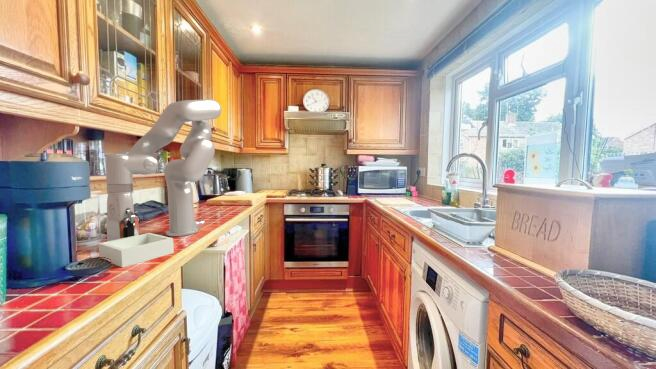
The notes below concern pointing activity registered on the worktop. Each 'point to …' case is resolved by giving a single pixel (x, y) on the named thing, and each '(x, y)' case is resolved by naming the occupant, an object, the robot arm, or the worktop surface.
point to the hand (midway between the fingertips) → (122, 236)
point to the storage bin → (136, 249)
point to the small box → (119, 229)
